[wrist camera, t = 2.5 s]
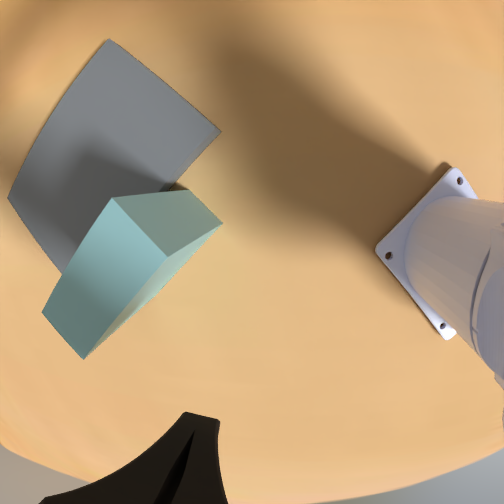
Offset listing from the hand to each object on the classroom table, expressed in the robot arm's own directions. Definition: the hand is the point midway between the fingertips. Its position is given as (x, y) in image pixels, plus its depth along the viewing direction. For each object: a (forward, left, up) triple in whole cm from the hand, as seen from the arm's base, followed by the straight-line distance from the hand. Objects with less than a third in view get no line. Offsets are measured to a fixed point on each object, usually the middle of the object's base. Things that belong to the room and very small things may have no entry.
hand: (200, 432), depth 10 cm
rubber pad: (+15, 0, -10) cm, 18 cm away
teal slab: (+7, 0, -10) cm, 12 cm away
